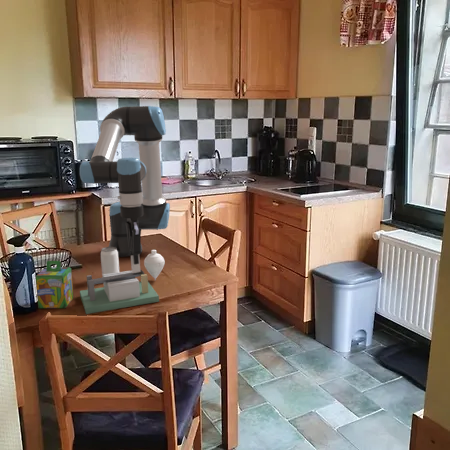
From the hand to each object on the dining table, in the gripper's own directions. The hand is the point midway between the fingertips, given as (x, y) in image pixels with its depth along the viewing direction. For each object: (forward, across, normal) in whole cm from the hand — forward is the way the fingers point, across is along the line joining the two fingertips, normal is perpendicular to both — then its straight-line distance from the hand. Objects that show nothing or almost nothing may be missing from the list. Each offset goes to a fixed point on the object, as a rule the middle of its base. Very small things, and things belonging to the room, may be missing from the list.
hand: (136, 272), depth 162 cm
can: (+9, -22, -5) cm, 24 cm away
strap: (+2, 0, -7) cm, 7 cm away
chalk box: (+9, -6, -26) cm, 28 cm away
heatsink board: (+9, 0, -6) cm, 11 cm away
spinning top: (+9, -12, +10) cm, 18 cm away
